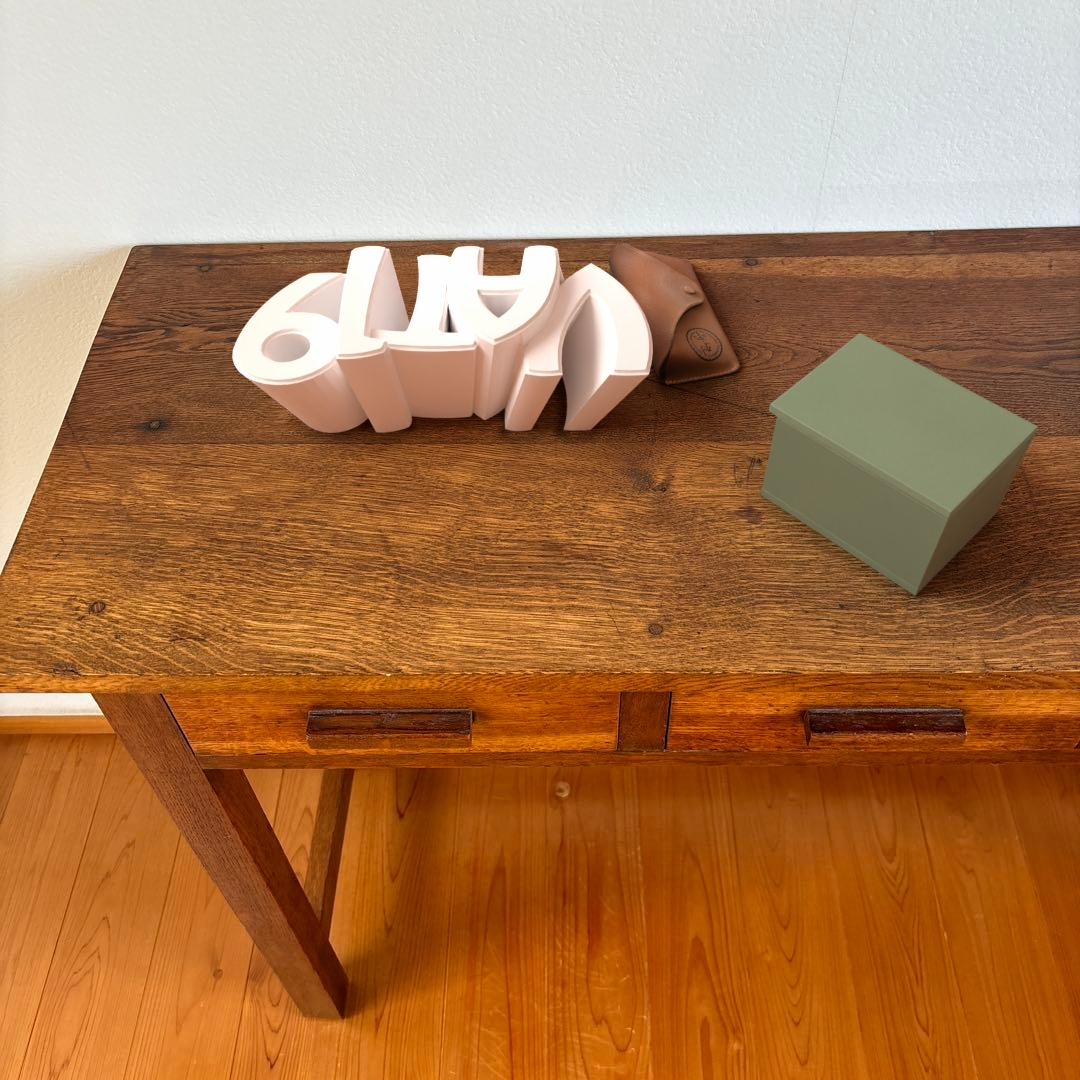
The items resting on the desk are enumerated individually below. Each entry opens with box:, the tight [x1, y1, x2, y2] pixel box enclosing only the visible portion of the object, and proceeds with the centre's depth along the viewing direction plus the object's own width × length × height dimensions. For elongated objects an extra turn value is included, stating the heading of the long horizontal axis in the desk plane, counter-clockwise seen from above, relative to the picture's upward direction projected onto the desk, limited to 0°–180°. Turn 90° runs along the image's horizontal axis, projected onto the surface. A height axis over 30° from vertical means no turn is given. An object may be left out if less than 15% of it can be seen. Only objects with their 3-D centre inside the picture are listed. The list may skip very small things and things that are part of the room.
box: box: [760, 416, 1035, 596], centre depth 79 cm, size 15×12×9 cm
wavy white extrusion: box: [232, 245, 653, 434], centre depth 88 cm, size 35×16×11 cm, turn 86°
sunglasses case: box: [608, 242, 741, 386], centre depth 96 cm, size 18×7×7 cm
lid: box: [768, 332, 1039, 519], centre depth 75 cm, size 15×12×1 cm
